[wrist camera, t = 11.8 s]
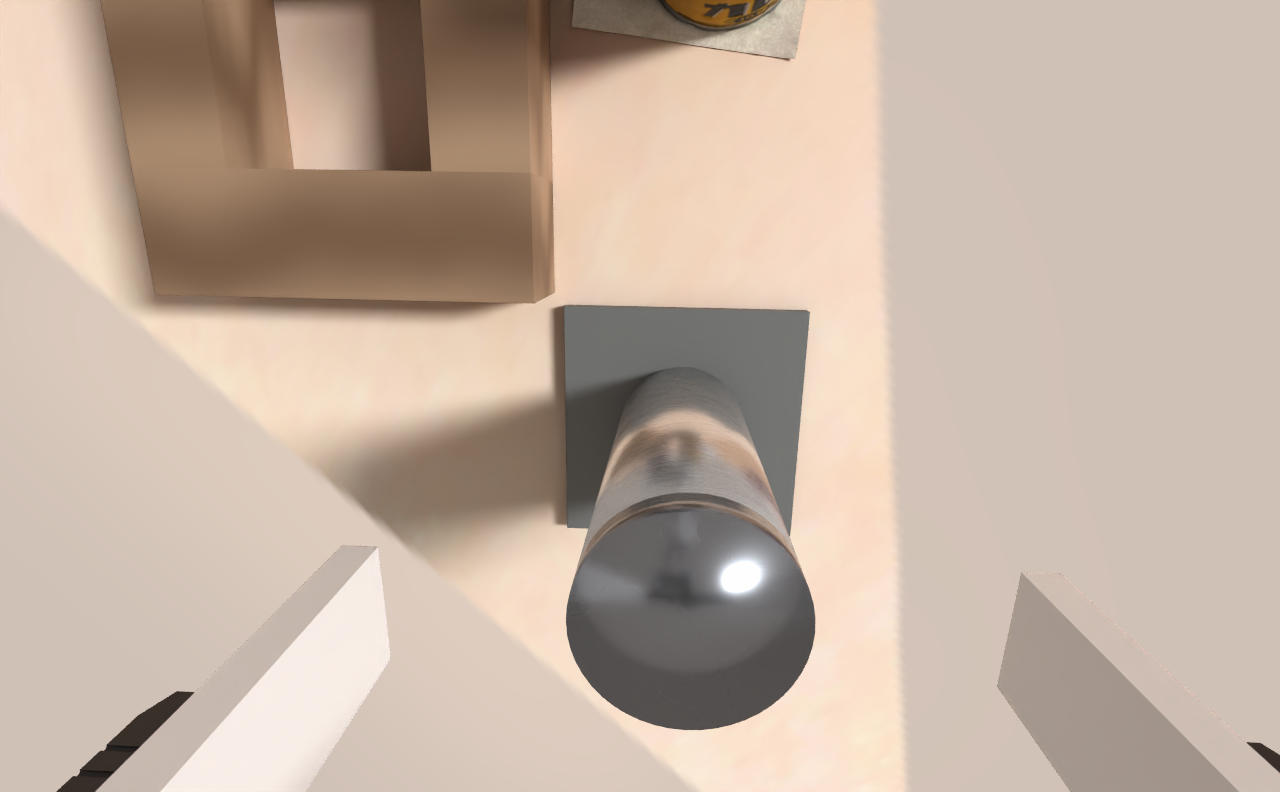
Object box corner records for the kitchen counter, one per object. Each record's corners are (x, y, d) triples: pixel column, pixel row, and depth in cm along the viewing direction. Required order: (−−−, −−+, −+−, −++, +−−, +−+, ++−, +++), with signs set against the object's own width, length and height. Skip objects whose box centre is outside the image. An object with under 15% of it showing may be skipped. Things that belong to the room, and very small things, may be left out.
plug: (621, 365, 26) (563, 507, 12) (745, 368, 26) (826, 517, 12) (620, 480, 27) (567, 723, 14) (738, 484, 27) (804, 735, 13)
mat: (566, 304, 26) (564, 306, 25) (806, 310, 26) (809, 312, 25) (569, 521, 29) (567, 527, 28) (787, 530, 28) (790, 536, 28)
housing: (161, -163, 22) (55, -245, 18) (545, -167, 22) (518, -253, 18) (230, 285, 26) (155, 294, 23) (554, 292, 26) (534, 303, 22)
